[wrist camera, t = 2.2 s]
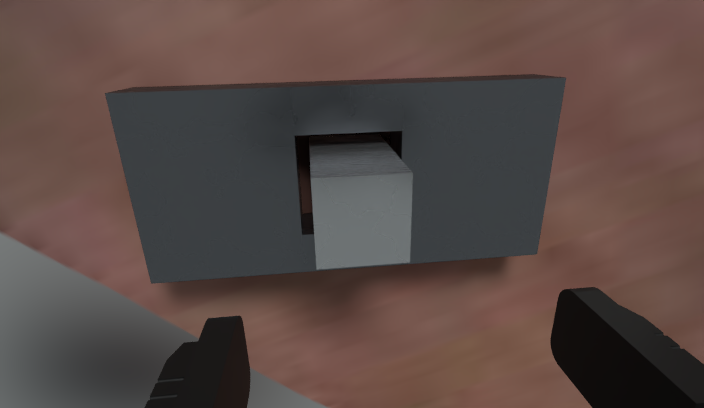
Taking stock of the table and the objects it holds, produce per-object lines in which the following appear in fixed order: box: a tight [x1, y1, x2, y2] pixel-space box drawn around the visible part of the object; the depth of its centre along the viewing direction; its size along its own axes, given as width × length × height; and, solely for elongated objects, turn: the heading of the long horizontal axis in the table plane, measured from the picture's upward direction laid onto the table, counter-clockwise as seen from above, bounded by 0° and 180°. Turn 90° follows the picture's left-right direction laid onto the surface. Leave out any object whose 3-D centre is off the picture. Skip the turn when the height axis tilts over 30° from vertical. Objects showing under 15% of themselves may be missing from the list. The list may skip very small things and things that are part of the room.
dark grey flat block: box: [105, 74, 566, 283], centre depth 22 cm, size 22×10×3 cm, turn 91°
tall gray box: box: [309, 134, 413, 270], centre depth 20 cm, size 4×4×8 cm
